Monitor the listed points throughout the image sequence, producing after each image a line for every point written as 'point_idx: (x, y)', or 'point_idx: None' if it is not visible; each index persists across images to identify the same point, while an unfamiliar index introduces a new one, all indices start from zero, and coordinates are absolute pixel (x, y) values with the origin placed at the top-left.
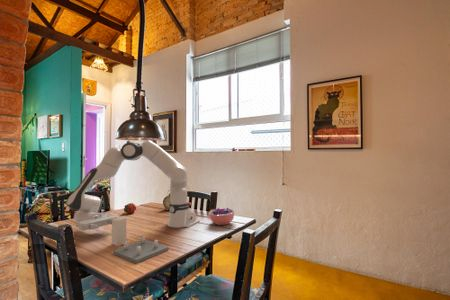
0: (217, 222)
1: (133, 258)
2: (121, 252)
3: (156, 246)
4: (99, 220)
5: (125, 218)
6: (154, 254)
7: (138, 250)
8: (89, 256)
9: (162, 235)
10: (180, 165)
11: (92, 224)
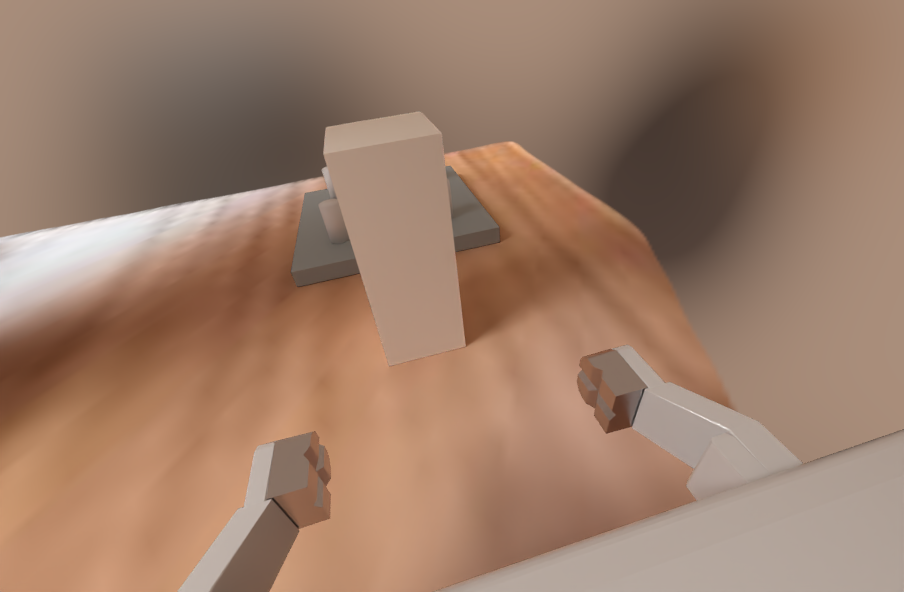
0: None
1: (453, 172)
2: (471, 205)
3: None
4: (573, 566)
5: (331, 127)
6: None
7: None
8: (615, 255)
9: (132, 327)
10: None
11: (718, 418)
